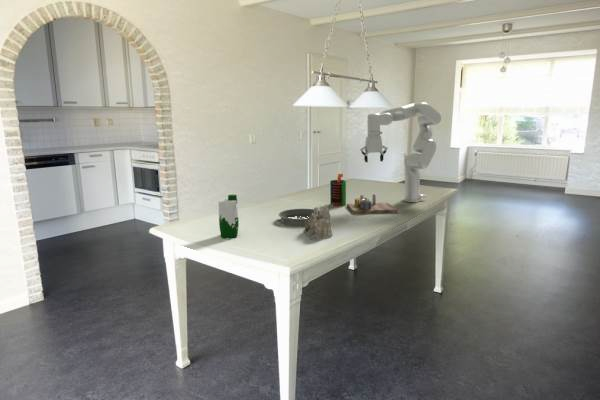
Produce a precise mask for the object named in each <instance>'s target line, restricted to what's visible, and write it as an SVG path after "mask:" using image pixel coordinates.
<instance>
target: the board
mask: <svg viewBox="0 0 600 400" xmlns="http://www.w3.org/2000/svg"><path fill="white" fill-rule="evenodd" d="M359 198H360V199H361V200H363V199H364V202H367V199H368V197H365V196H364V194H360V197H359ZM346 208H347V209H348V210H349V211H350V212H351V213H352V214H353V215H371V214H372V215H374V214H398V208H396V207H394V206H393V205H391V204H390V203H389V202H377V194H372V199H371V209H370V210H362V209H360V207H357V206H355V203H346Z"/></svg>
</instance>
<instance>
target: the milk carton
mask: <svg viewBox="0 0 600 400" xmlns="http://www.w3.org/2000/svg"><path fill="white" fill-rule="evenodd" d="M218 222H219V223H218V224H219V231H220V236H221V237H220V238H221V239H237V237H238V233H239V205H238V196H237V194H228V195H227V197H226V198H220V199H219V201H218Z"/></svg>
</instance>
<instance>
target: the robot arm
mask: <svg viewBox="0 0 600 400" xmlns="http://www.w3.org/2000/svg"><path fill="white" fill-rule="evenodd" d="M414 117H417V123H418V125H419V132H418V135H417V136H416V139H415V140H414V143H413V145H412V150H413V151H414V153H412V152H411V153H408V154H406V155H405V157H404V158H403V159H404V160H403V161H404V162H403V163H404V170H405V171H404V172H405V173H404V197H402V198H401V201H403V202H407V203H418V202H419V203H420V202H421V201H422V198H424V199H425V198H427V194H421V193H420V183H421V182H420V181H421V173H420V170H425V169H427V168H428V167H429V166H430V163H431V161H432V159H433V158H434V156H435V153H436V150H437V143H436V141H435V140H433V139H432V137H433V128H432V126H437V125H439V124H440V122H441V121H442V115H441V114H440V112H439V111H438V110H437V109H435V108H434V107H433V106H432V105H430V104H429V103H427V102H412V103H410V104H406V105H403V106H399V107H395V108H390V109H386V110H382V111H379V112H376V113H369V114H367V136H365V142H364V143H365V145H364V146H363V147H361V148H360V149H359V150H360V152H361V154H362V155H363V156H364V159H363V160H364V162H365V163H368V161H369V159H368V154H371V153H372V154H373V153H375V154H376V153H379V154H380V155H379V161H380V162H383V161H384V156H385V154H386V153H387V150H388V147H387V146H385V145H383V138H382V136H381V135H382V134H383V131H381V126H389V125H390V124H392V123H393V122H401V121H405V120H408V119H411V118H414Z"/></svg>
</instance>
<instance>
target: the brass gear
mask: <svg viewBox="0 0 600 400" xmlns="http://www.w3.org/2000/svg"><path fill="white" fill-rule="evenodd" d="M363 200H364V199H363ZM367 200H369V201H370V198H367ZM360 201H362V200H361V199H360V197H358V198H355V199H354V204H355V206H357V207H360Z"/></svg>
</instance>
